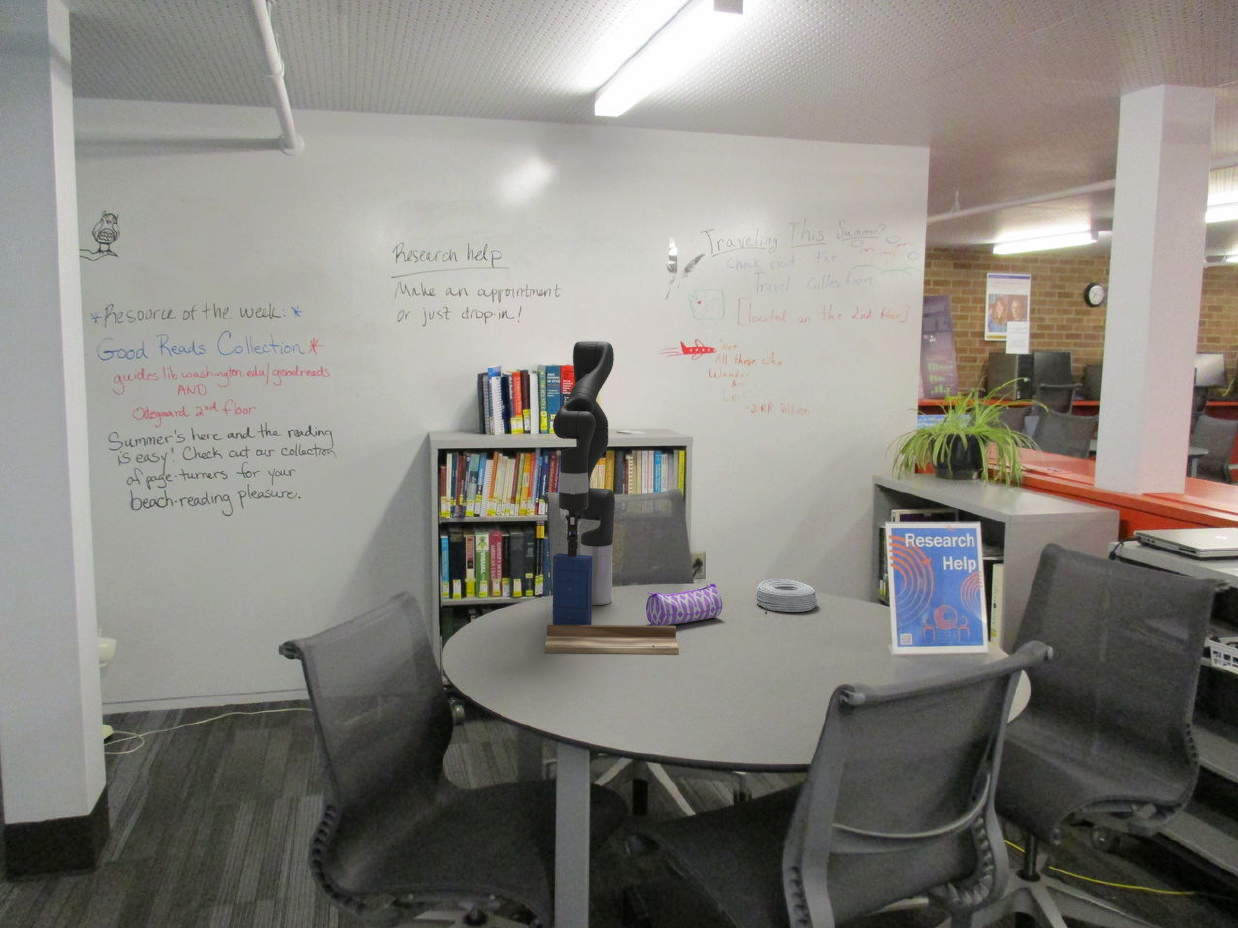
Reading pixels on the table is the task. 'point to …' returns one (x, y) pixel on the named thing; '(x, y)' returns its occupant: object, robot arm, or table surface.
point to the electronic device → (572, 590)
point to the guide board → (612, 639)
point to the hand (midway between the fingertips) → (572, 552)
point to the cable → (785, 595)
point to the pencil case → (683, 606)
